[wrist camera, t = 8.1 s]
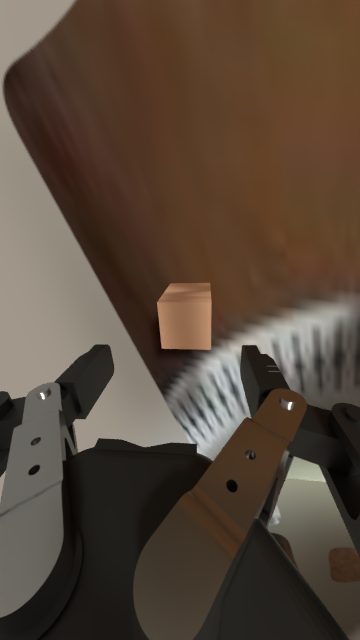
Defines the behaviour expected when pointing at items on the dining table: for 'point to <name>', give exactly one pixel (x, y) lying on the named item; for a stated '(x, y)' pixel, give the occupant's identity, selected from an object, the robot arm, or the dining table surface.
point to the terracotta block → (185, 316)
